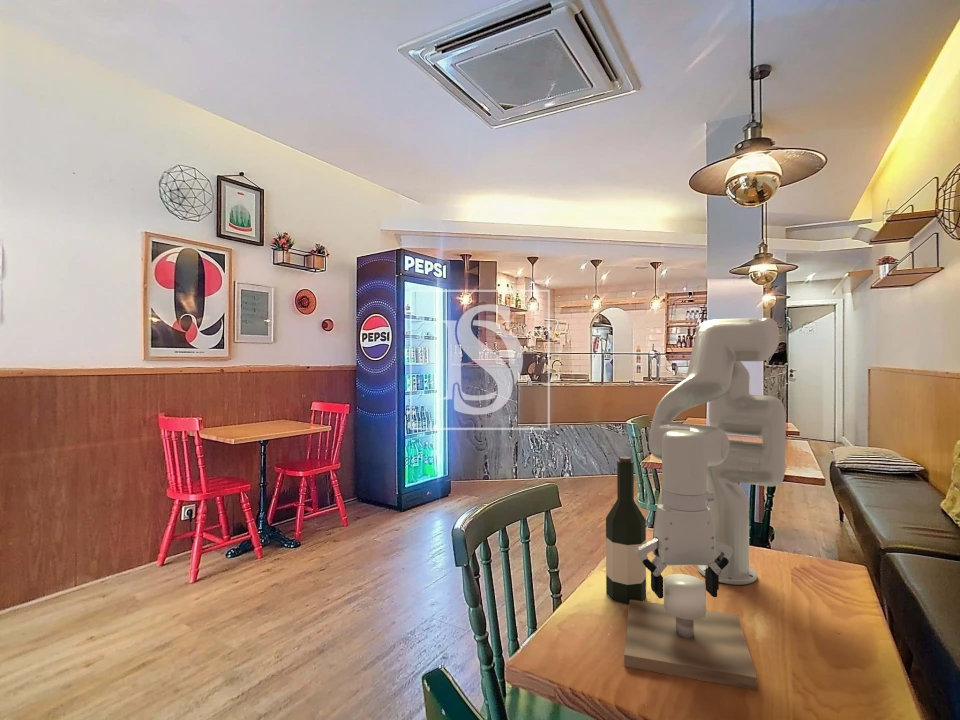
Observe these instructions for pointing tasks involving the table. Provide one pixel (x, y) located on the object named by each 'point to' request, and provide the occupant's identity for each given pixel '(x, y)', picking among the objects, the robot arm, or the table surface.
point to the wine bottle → (625, 540)
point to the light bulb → (685, 596)
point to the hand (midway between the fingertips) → (684, 594)
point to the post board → (688, 645)
